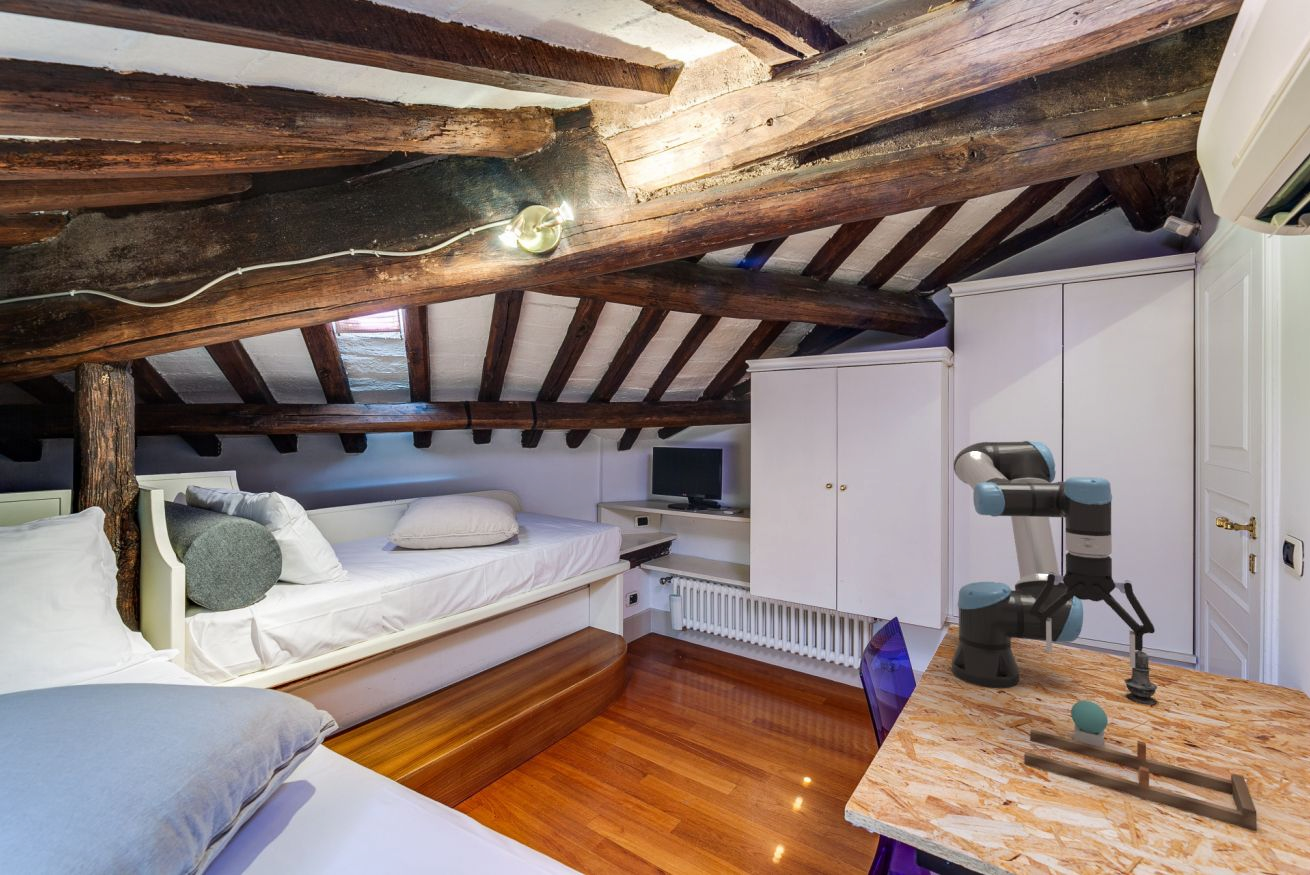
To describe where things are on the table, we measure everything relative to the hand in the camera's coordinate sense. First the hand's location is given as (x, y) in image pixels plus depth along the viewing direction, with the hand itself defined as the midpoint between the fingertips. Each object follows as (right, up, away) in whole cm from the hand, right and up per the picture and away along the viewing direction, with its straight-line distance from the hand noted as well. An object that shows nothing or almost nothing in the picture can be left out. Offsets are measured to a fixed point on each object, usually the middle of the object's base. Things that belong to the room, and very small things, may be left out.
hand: (1089, 657), depth 119 cm
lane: (-2, -17, -13) cm, 21 cm away
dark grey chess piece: (+25, -16, +17) cm, 34 cm away
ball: (0, -12, 0) cm, 12 cm away
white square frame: (0, -17, 0) cm, 17 cm away
